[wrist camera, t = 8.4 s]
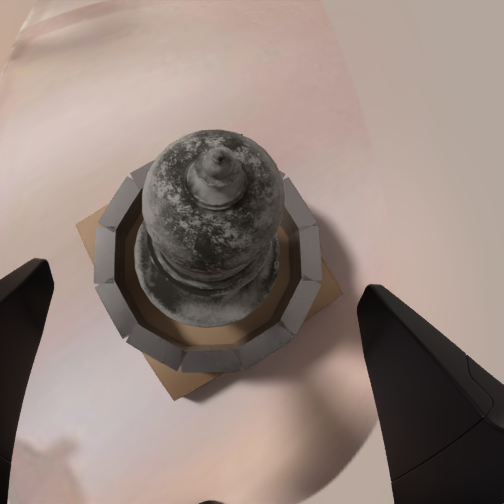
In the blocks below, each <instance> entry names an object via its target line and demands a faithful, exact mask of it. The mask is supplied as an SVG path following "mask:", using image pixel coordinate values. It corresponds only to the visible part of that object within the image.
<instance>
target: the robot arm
mask: <svg viewBox="0 0 504 504" xmlns="http://www.w3.org/2000/svg"><path fill="white" fill-rule="evenodd" d="M53 291H54V281H53V277H52V274H51V270H50V267H49V263H48V261H47V260H45V259H40V258H34V259H32V260H30V261H29V262H27V263H25V264H24V265H22V266H21V267H19V268H17V269H16V270H14V271H13V272H11V273H10V274H8V275H7V276H5V277H4V278H2V279H1V280H0V504H7V500H8V488H9V478H10V470H11V461H12V454H13V448H14V442H15V437H16V431H17V426H18V421H19V417H20V412H21V408H22V403H23V399H24V395H25V391H26V387H27V384H28V380H29V376H30V373H31V369H32V366H33V363H34V359H35V356H36V353H37V350H38V347H39V344H40V340H41V337H42V334H43V330H44V326H45V322H46V317H47V313H48V310H49V306H50V302H51V298H52V295H53ZM357 316H358V322H359V328H360V334H361V340H362V347H363V353H364V358H365V362H366V366H367V370H368V374H369V378H370V382H371V386H372V391H373V395H374V399H375V403H376V408H377V412H378V417H379V421H380V426H381V431H382V435H383V440H384V445H385V450H386V456H387V461H388V466H389V472H390V477H391V482H392V483H391V484H392V491H393V497H394V504H504V385H503V384H502V383H501V382H500V381H498V380H497V379H495V378H494V377H493V376H492V375H491V374H489V373H488V372H487V371H486V370H484V369H483V368H482V367H481V366H480V365H478V364H477V363H476V362H475V361H474V360H473V359H472V358H470V357H469V356H468V355H466V354H465V352H463V351H462V350H461V349H460V348H459V347H457V346H456V345H455V344H454V343H453V342H451V341H450V340H449V339H448V338H447V337H446V336H444V335H443V334H442V333H441V332H440V331H438V330H437V329H436V328H435V327H433V326H432V325H431V324H430V323H429V322H427V321H426V320H425V319H424V318H423V317H421V316H420V315H419V314H418V313H416V312H415V311H414V310H413V309H411V308H410V307H409V306H407V305H406V304H405V303H404V302H403V301H401V300H400V299H399V298H398V297H396V296H395V295H394V294H392V293H391V292H390V291H389V290H387V289H386V288H385V287H384V286H382V285H378V284H370V285H368V286H367V287H366V288H365V291H364V293H363V295H362V297H361V299H360V301H359V303H358V306H357ZM199 504H215V503H213V502H211V501H205V502H202V503H199Z"/></svg>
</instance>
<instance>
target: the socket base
mask: <svg viewBox="0 0 504 504" xmlns="http://www.w3.org/2000/svg"><path fill="white" fill-rule="evenodd" d="M241 135H242V134H241ZM154 161H155V160H154ZM154 161H152V162H150V163H148V164H146V165H144V166H143V167H141V168H139V169H137V170H135V171H134V172H132V173H130V174H131V176H132V178H133V179H131V178H129V177H126V179H125V180H124V182H123V183H122V185H121V186H120V188H119V189H118V191H117V192H116V194H115V195H114V197H113V198H112V200H111V201H110V203H109V204H108V205H106V206H104V207H103V208H101V209H100V210H98V211H96V212H95V213H93V214H92V215H90V216H88V217H87V218H85V219H84V220H82V221H81V222H79V223H78V224H76V227H77V229H78V232H79V234H80V236H81V239H82V241H83V243H84V245H85V247H86V250H87V252H88V254H89V256H90V258H91V260H92V262H93V264H94V283H95V284H100V285H98V286H97V287H95V289H96V291H97V293H98V295H99V297H100V299H101V301H102V302H103V304H104V306H105V308H106V310H107V312H108V314H109V315H110V317H111V319H112V321H113V323H114V324H115V326H116V328H117V330H118V331H119V333H120V335H121V337H122V338H126V337H128V336H129V337H128V339H127V341H126V342H127V343H128V344H130V345H132V346H133V347H135V348H137V349H138V350H140V351H141V352H142V353H143V355H144V357H145V358H146V360H147V361H148V363H149V364H150V366H151V368H152V369H153V371H154V372H155V374H156V375H157V377H158V378H159V380H160V381H161V383H162V384H163V386H164V387H165V389H166V390H167V392H168V393H169V394H170V396H171V397H172V399H173V400H174V401H175V400H177V399H179V398H181V397H183V396H184V395H186V394H188V393H190V392H191V391H193V390H195V389H197V388H199V387H200V386H202V385H204V384H205V383H207V382H209V381H211V380H212V379H214V378H216V377H217V376H219V375H221V374H222V373H224V372H233V371H241V369H240V363H241V364H242V366H243V367H244V369H247V368H249V367H250V366H252V365H253V364H255V363H257V362H258V361H260V360H261V359H263V358H264V357H266V356H268V355H269V354H271V353H272V352H274V351H275V350H277V349H278V348H280V347H281V346H283V345H284V344H286V343H287V342H289V341H290V340H292V339H293V337H292V335H291V334H290V333H292V334H295V335H297V333H298V331H299V329H300V327H301V325H302V323H303V322H304V321H305V320H307V319H308V318H309V317H311V316H312V315H314V314H315V313H317V312H318V311H319V310H321V309H322V308H324V307H325V306H327V305H328V304H329V303H331V302H332V301H334V300H335V299H336V298H338V297H339V296H340V295H342V294H343V293H342V291H341V289H340V287H339V286H338V284H337V282H336V281H335V279H334V277H333V276H332V274H331V272H330V271H329V269H328V267H327V266H326V264H325V262H324V261H323V259H322V257H321V252H320V237H319V226H312V225H314V224H315V223H317V221H316V219H315V217H314V216H313V214H312V213H311V211H310V210H309V208H308V206H307V205H306V203H305V202H304V200H303V199H302V197H301V196H300V194H299V192H298V191H297V189H296V188H295V186H294V185H293V183H292V182H291V180H290V179H289V177H288V178H286V179H284V180H283V186H284V194H285V201H284V209H283V216H282V221H281V224H280V226H279V228H278V231H277V236H278V239H279V248H280V263H279V271H278V276H277V278H276V280H275V283H274V285H273V288H272V290H271V292H270V294H269V295H268V296H267V297H266V299H265V300H264V301H263V302H262V304H261V305H260V306H259V307H258V308H257V309H256V310H254V311H253V312H252V313H250V314H249V315H248V316H246V317H245V318H244V319H242V320H239V321H236V322H234V323H231V324H229V325H226V326H220V327H210V328H202V327H196V326H190V325H185V324H183V323H181V322H179V321H176V320H174V319H172V318H170V317H168V316H166V315H165V314H164V313H163V312H162V311H161V310H159V309H158V308H157V307H156V306H155V305H154V304H153V303H152V302H151V301H150V299H149V298H148V296H147V295H146V293H145V292H144V290H143V289H142V287H141V284H140V281H139V278H138V275H137V272H136V269H135V255H134V248H135V243H136V238H137V234H138V230H139V228H140V226H141V224H142V222H143V220H144V218H143V215H142V193H143V188H144V184H145V180H146V177H147V173H148V171H149V170H150V168H151V166H152V164H153V163H154ZM279 172H280V175H281V177H282V179H283V177H284V176H285V174H284V173H282V172H281V171H279Z"/></svg>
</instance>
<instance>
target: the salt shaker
mask: <svg viewBox="0 0 504 504" xmlns="http://www.w3.org/2000/svg"><path fill="white" fill-rule="evenodd" d="M284 201H285V194H284V186H283V180H282V177H281V175H280V172H279V170H278V168H277V165H276V163H275V162H274V161H273V159H272V158H271V157H270V156H269V154H268V153H267V152H266V150H264V149H263V148H262V147H261V146H259V145H258V144H257V143H256V142H254V141H253V140H252V139H249V138H247V137H245V136H243V135H240V134H238V133H235V132H230V131H225V130H202V131H198V132H195V133H192V134H188V135H185V136H183V137H182V138H180V139H178V140H176V141H175V142H173V143H171V144H170V145H169V146H168V147H167V148H166V149H165V150H164V151H163V152H162V153H161V154H160V155H159V156H158V157H157V158H156V159H155V161H154V163H153V164H152V166H151V168H150V170H149V171H148V173H147V177H146V180H145V184H144V188H143V193H142V215H143V218H144V220H143V222H142V224H141V226H140V228H139V230H138V234H137V238H136V243H135V248H134V255H135V269H136V272H137V275H138V278H139V281H140V284H141V287H142V289H143V290H144V292H145V293H146V295H147V296H148V298H149V299H150V301H151V302H152V303H153V304H154V305H155V306H156V307H157V308H158V309H159V310H161V311H162V312H163V313H164V314H165V315H166V316H168V317H170V318H172V319H174V320H176V321H179V322H181V323H183V324H185V325H190V326H196V327H202V328H210V327H220V326H226V325H229V324H231V323H234V322H236V321H239V320H242V319H244V318H245V317H246V316H248V315H249V314H250V313H252V312H253V311H254V310H256V309H257V308H258V307H259V306H260V305H261V304H262V302H263V301H264V300H265V299H266V297H267V296H268V295H269V294H270V292H271V290H272V288H273V285H274V283H275V280H276V278H277V276H278V271H279V263H280V248H279V239H278V236H277V231H278V228H279V226H280V224H281V221H282V216H283V209H284Z"/></svg>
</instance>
